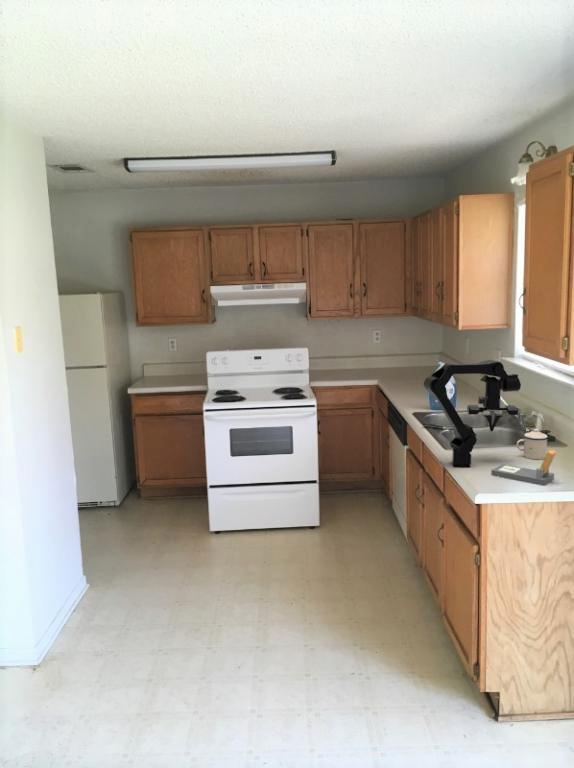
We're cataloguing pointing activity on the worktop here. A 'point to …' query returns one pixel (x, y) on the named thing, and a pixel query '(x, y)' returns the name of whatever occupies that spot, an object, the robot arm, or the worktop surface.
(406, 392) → the worktop surface
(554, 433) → the worktop surface
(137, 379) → the worktop surface
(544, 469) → the orange lever
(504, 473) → the switch panel
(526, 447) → the teacup with lid
